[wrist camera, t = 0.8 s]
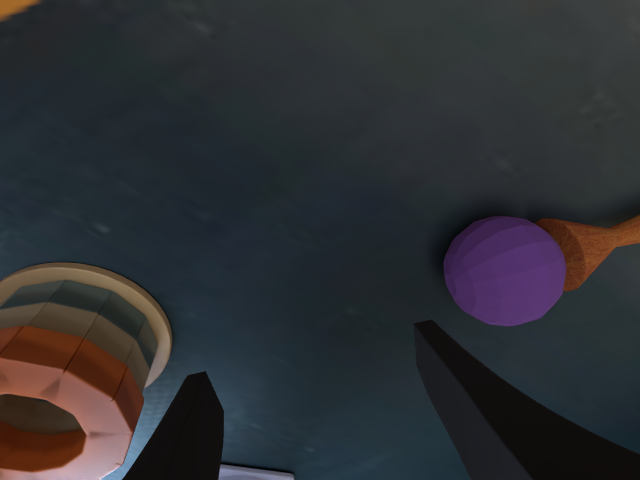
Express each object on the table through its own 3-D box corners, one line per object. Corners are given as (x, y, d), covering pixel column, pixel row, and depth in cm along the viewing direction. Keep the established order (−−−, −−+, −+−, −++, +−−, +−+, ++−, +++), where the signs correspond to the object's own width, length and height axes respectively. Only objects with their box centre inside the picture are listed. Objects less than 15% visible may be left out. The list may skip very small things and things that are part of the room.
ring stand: (151, 407, 26) (131, 474, 22) (-24, 378, 23) (-84, 449, 19) (192, 291, 22) (176, 346, 18) (-13, 237, 19) (-86, 289, 15)
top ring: (122, 466, 22) (110, 503, 20) (-70, 443, 19) (-104, 484, 17) (160, 352, 18) (149, 385, 17) (-68, 305, 16) (-110, 338, 14)
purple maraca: (792, 260, 22) (474, 361, 20) (691, 206, 27) (424, 284, 25) (873, 171, 18) (490, 285, 16) (738, 125, 23) (427, 211, 21)
